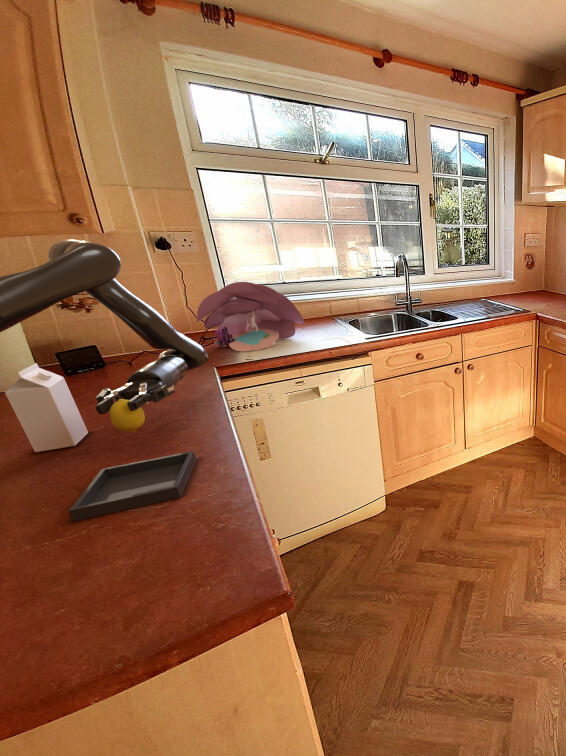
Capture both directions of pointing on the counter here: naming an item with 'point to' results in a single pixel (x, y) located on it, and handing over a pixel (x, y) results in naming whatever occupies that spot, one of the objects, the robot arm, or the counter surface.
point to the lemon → (126, 416)
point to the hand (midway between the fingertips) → (115, 408)
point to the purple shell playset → (249, 316)
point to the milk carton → (46, 409)
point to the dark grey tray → (134, 485)
